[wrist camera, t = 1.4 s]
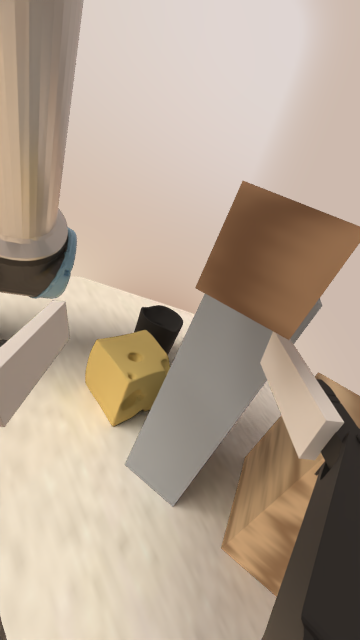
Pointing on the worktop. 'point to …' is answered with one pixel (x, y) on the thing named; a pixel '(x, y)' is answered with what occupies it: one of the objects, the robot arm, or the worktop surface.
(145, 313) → the pen holder
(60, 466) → the worktop surface
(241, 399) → the slate-grey stand
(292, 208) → the walnut block
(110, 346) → the cheese
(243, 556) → the oak block
